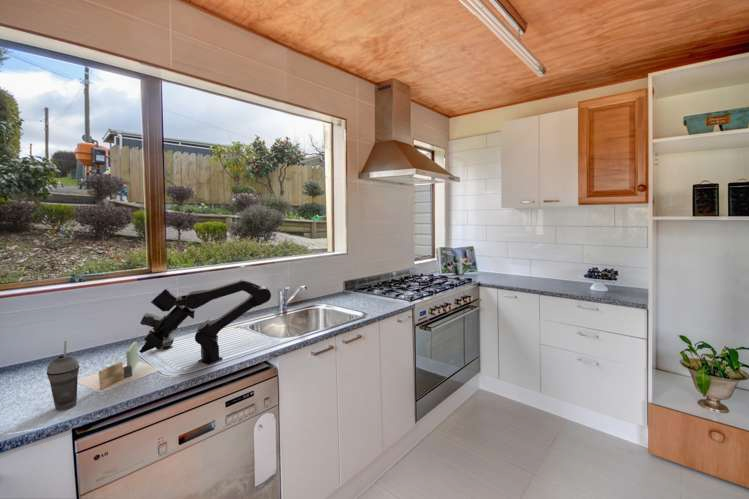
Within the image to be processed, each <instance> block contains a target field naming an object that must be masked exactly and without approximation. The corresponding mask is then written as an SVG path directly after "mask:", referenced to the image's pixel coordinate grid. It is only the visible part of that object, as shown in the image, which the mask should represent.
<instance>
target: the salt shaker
mask: <svg viewBox="0 0 749 499" xmlns="http://www.w3.org/2000/svg"><path fill="white" fill-rule="evenodd" d="M163 338H164V339H165V343H164V345H163V346H162V347H161V348H160V349H159V350H161V351H165V350H170V349H172V348H173V344H174V340H175V338H173V337H171V334H170V335H169V337H168V338H167V339H166V338H165V337H163Z"/></svg>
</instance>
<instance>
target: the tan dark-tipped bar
mask: <svg viewBox="0 0 749 499" xmlns="http://www.w3.org/2000/svg"><path fill="white" fill-rule="evenodd" d="M123 365H124V364H123V361H118V362H117V363H114V364H112V365H109V366H107V367H104V368H102V369H99V371H98V373H99V382H100V389H103V388H106V387H108V386H110V385H112V384H114V383H116V382H118V381H120V380H122V379H123V371H124V377H131V376H132V366H126V367H124V368H123Z"/></svg>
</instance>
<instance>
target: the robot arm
mask: <svg viewBox="0 0 749 499" xmlns="http://www.w3.org/2000/svg"><path fill="white" fill-rule="evenodd" d="M242 291H243V292H246V293H247V294H248V295H249V296H248V297H247V298H245V299H244V300H243V301H242V302H240V303H239V304H237V305H236V306H234V307H233V308H231V309H229V311H227V312H225V313H224V314H222V315H221V316H220V317H218V318H217V319H215V320H213V321H210V319H207V320H206V321H205V322H204V323H201V324H199V325H198V328H197V329H196V331H195V335H194V341H195V343H197V344H198V345H200V356H201V358H200V359H198V360H197V361H198V363H203V364H206V365H212V364H214V363H216V362H219V361H221V360H223V359H224V358H223V357H222V356H220V345H219V343H218V341H219V335H218V333H219V332H220V331H221V330H222V329H224V328H226V327H227V326H228V325H230V324H231V323H233V322H234V321H236V320H237V319H238V318H239V317H241V316H242V315H244V314H246V313H247V312H248V311H250V310H252V309H253V308H256V307H259V306H261V305H264V304H266V303H267V302H269V301H270V300H271V297H272V293H271V291H270V289H269V287H267V286H265V285H258V284H256V283H253V282H251V281H249V280H247V279H243V278H242V279H240V280H237V281H235V282H231V283H228V284H224V285H221V286H217V287H213V288H211V289H200V290H199V289H198V290H192V291H190V292H189V293H188V294H185V295H179V296H176V295H175V294H173V293H172V292H171V291H170V290H169V289H168V288H165V289H164V290H162V291H161V292H160V293H158V294H157V295H156V296H155V297H154V298H153V299H152V300H151V301H150V303H151V304H152V305H153V306H154V307H156V308H158V309H159V310H161V311H162V312H163V313H164V312H168V313H167V315H164V316H163V317H161V316H158V315H155V314H152V313H148V312H146V313H145V314H143V316H142V318H141V321H140V322H139V324H140V325H142V326H147V327H151V328H152V329H149V331H148V333H147V334H146V336H145V337H144V339H143V340H144V341H145V342H144V344H143V346H142V347H141V349H140V350H138V352H139V353H140V354H143V353H146V352H148V351H150V350H153V349H156V350H161V349H160V348H161V347H162V346H163V345H164V343H165V339H164V338H163V337H165V338H166V339H167V338H168V337H169V335H170V336H171V334H172V333H173V332H174V331H176V330H178V327H179V326H180V325H181V324H182V323H183V322H184V321H185V320H186V319H187V318H188V317H190V318H191V319H194V318H195V317H196V314H195V312H196V309H198V308H200V307H202V306H204V305H206V304H207V303H209V302H211V301H213V300H217V299H220V298H223V297H225V296H229V295H233V294H236V293H239V292H242ZM172 308H173V309H172ZM170 310H171V311H170Z"/></svg>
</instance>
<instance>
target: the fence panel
mask: <svg viewBox="0 0 749 499" xmlns="http://www.w3.org/2000/svg"><path fill="white" fill-rule="evenodd" d="M125 352H126V354H125V355H126V364H127V366H132V371H133V369H134V368H135V366H136V364H137V363H138V361H139V353H138V352H139V350H138V341H137V340H136V341H133V342H132V343H131V345H130V346H129V347H128V349H127V350H126V351H125Z"/></svg>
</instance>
